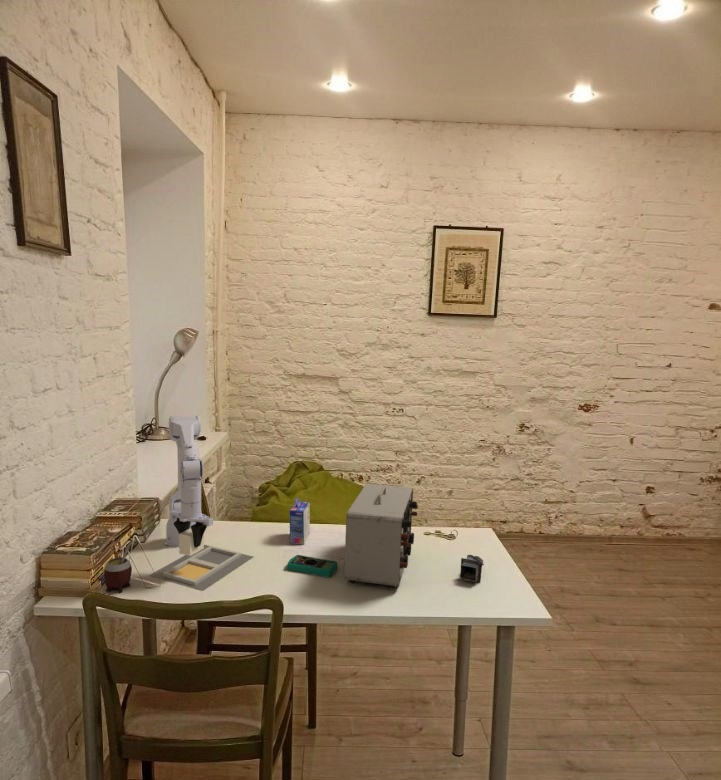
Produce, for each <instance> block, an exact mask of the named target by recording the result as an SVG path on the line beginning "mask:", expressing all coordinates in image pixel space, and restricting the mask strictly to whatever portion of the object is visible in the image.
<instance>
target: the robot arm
mask: <svg viewBox="0 0 721 780" xmlns="http://www.w3.org/2000/svg"><path fill="white" fill-rule="evenodd" d="M201 426H202V423H201V417H200V416H199V415H198V414H197V415H189V416H188V415H187V416H186V415H185V416H184V415H183V416H182V415H181V416H173V415H172V416H170V417H169V418H168V437H169V440H170V441H173V442H175V444H176V447H177V490H176V491H174V492H173V493H172V494H171V495H170V497H169V508H168V510H169V518H168V520H167V522H166V524H165V525H166V529H165V530H166V533H165V534H166V538H165V539H166V541H165V542H164V545H166V546H173V547H175V548H176V547H177V548H179V534H180V533H182V532H184V531H186V530H188V529H190V528H191V530H192V533H193V542H194V547H195V548H196V547H198V546H200V545H201V541H202V537H203V534H204V535H205V532H206V529H207V528H208V527H211V526H212V525H214V518H213V517H211V516H208V515H206V514H204V513H202V480H203V478H204V477H203V476H204V463H203V460H202V458H201V457H200V452H199V447H198V445H196V444H195V443H194V441H195V440H198V439H199V437H200V434H201V432H202V431H201V430H202V427H201Z"/></svg>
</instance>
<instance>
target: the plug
mask: <svg viewBox="0 0 721 780" xmlns="http://www.w3.org/2000/svg"><path fill="white" fill-rule="evenodd" d="M204 539H205V533H204V534H203V537H202V541H201V545H200V546H198V547H196V548H195V547H194V542H193V533H192V530H191V528H190V529H188V530H186V531H184V532H182V533H180V534H179V547H178V549H179V551H178V552H179V554H180V555H183V556H185V555H188V556H191V555H193V554H195V553H197V552H198V551H200V550H202V549H204V545H205V540H204Z"/></svg>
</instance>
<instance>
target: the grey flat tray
mask: <svg viewBox="0 0 721 780" xmlns="http://www.w3.org/2000/svg"><path fill="white" fill-rule="evenodd" d="M253 558H254V556H253V555H250V554H249V555H248V554H246V553H245V554H244V553H242V552H238V551H234V550H230V549H226V548H222V547H217V546H213V545H207V544H204V549H202V550H200V551H198V552H197V553H195V554H193V555H191V556H188V555H183V556H181V557H179V558H177V559H176V560H174V561H172V562H171V563H170V562H169V564H167V565H165V566H163V567H161V568H160V569H158V570H156V571H154V572H152V573H151V574H149V575H148V576H149V577H152V578H156V579H159V580H162V581H166V582H169V583H174V584H175V585H181V586H182V587H183V586H184V587H188V588H191V589H194V590H198V591H200V592H204V591H205V590H207V589H209V588H210V587H211V586H213V585H214V584H216V583H217V582H219V581H220V580H222V579H223V578H225V577H227V576H228V575H230V574H231V573H232V572H234V571H235V570H236V569H237V570H238V568H240V567H241V566H243V565H244V564H246V563H248V562H249V561H250V560H252V559H253Z"/></svg>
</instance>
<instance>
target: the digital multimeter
mask: <svg viewBox="0 0 721 780" xmlns="http://www.w3.org/2000/svg"><path fill="white" fill-rule="evenodd" d="M286 565H287V566H286V570H287V571H292V572H298V573H304V574H307V575H314V576H319V577H324V578H331V576H333V575H334V574H335V572H336V571H337V570H338V561H336V560H330V559H329V560H328V559H323V558H319V557H318V558H317V557H312V556H306V555H303V554H301V555H300V554H296V555H294V556H293V557H291V558H290V559H289V560H288V562H287V564H286Z"/></svg>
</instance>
